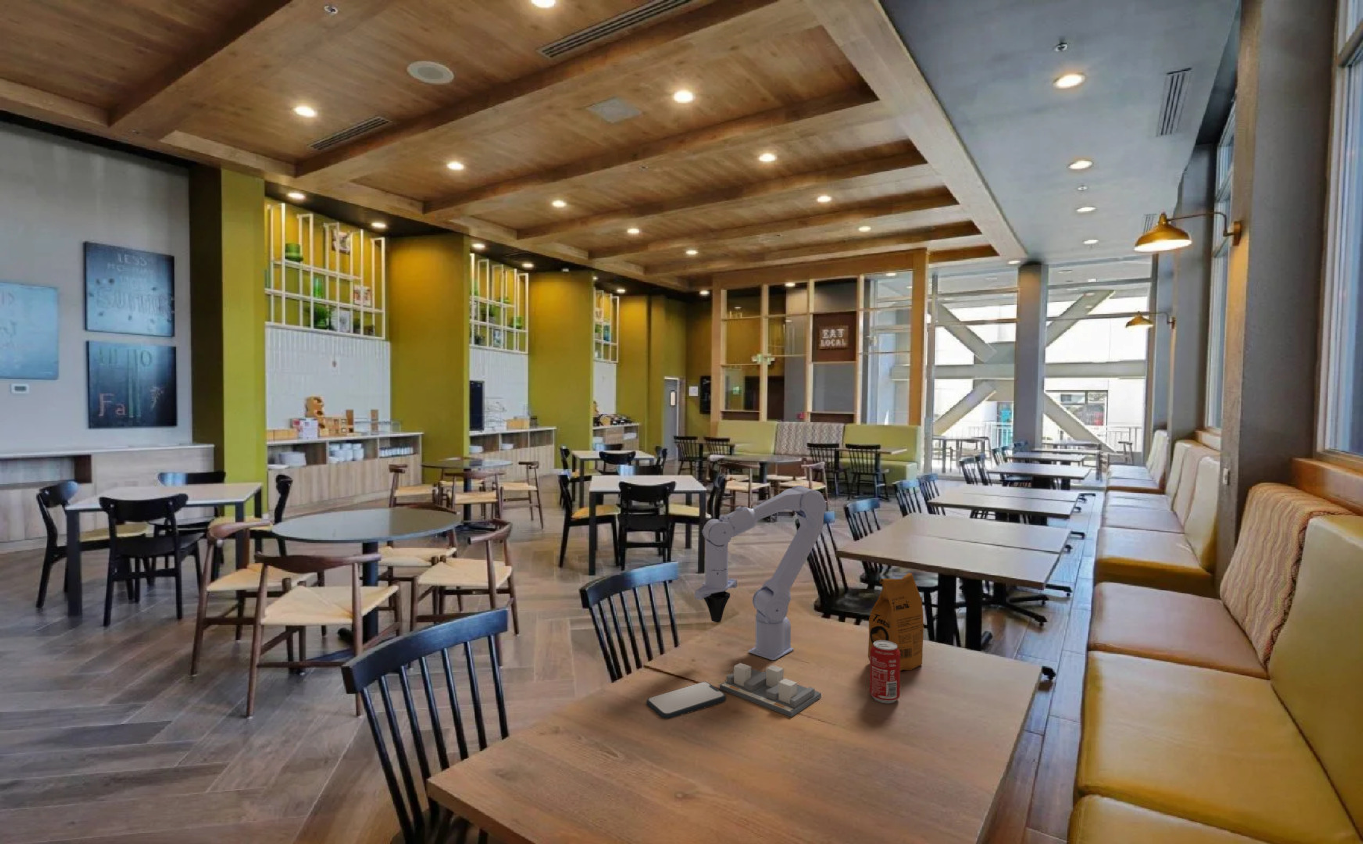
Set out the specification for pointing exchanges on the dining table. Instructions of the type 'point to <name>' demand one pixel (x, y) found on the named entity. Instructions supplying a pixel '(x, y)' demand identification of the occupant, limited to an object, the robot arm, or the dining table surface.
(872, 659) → the beverage can
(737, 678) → the tab
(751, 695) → the switch board
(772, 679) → the white rectangular block
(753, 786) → the dining table surface
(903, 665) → the coffee package
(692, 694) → the smartphone
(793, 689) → the tab
